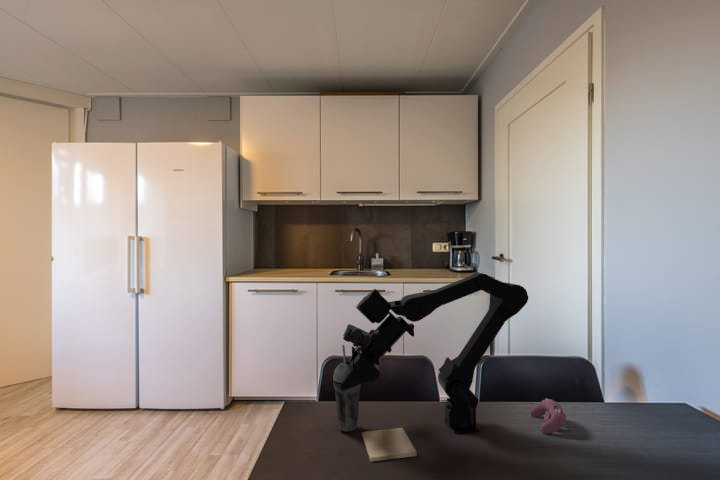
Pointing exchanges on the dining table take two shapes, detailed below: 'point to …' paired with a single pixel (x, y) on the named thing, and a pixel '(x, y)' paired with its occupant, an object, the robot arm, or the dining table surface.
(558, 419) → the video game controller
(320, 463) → the dining table surface
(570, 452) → the dining table surface
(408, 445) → the coaster board
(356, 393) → the beverage cup
